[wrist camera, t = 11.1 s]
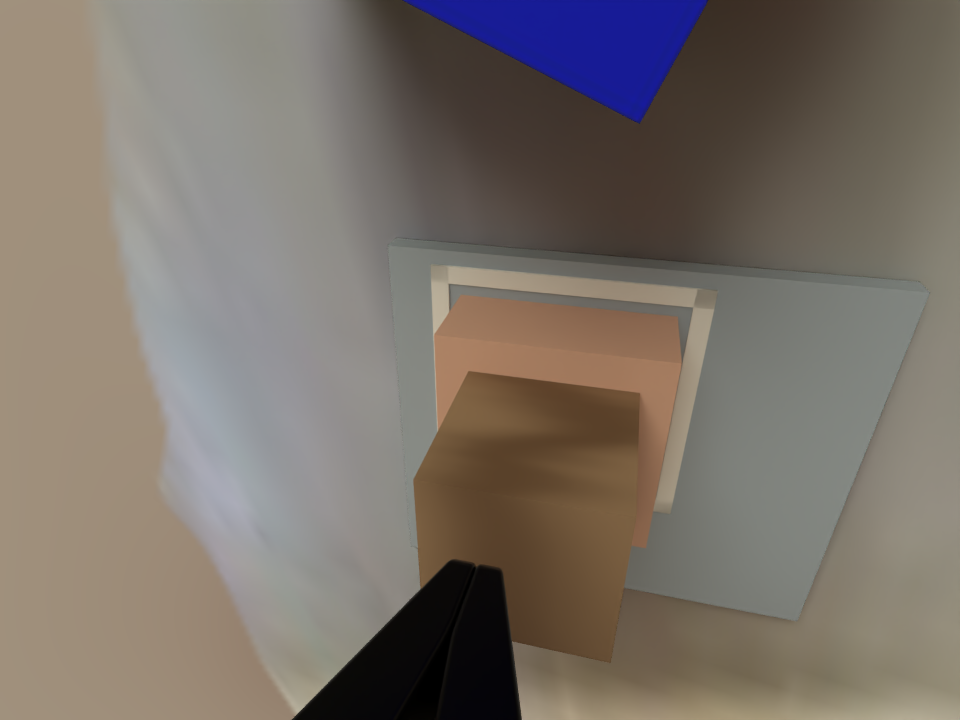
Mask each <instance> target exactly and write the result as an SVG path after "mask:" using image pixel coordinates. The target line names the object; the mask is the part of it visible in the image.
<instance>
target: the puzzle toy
mask: <svg viewBox="0 0 960 720" xmlns="http://www.w3.org/2000/svg"><path fill="white" fill-rule="evenodd" d="M403 1H405V2H407V3H409V4H410V5H412V6H414V7H416V8H418V9H420V10H422V11H424V12H426V13H428V14H430V15H432V16H433V17H435V18H437V19H439V20H441V21H443V22H445V23H447V24H449V25H451V26H453V27H455V28H456V29H458V30H460V31H462V32H464V33H466V34H468V35H470V36H472V37H474V38H476V39H478V40H480V41H481V42H483V43H485V44H487V45H489V46H491V47H493V48H495V49H497V50H499V51H501V52H503V53H504V54H506V55H508V56H510V57H512V58H514V59H516V60H518V61H520V62H522V63H524V64H526V65H527V66H529V67H531V68H533V69H535V70H537V71H539V72H541V73H543V74H545V75H547V76H549V77H551V78H552V79H554V80H556V81H558V82H560V83H562V84H564V85H566V86H568V87H570V88H572V89H574V90H575V91H577V92H579V93H581V94H583V95H585V96H587V97H589V98H591V99H593V100H595V101H597V102H598V103H600V104H602V105H604V106H606V107H608V108H610V109H612V110H614V111H616V112H618V113H620V114H621V115H623V116H625V117H627V118H629V119H631V120H633V121H635V122H637V123H639V124H640V122H641V121H642V119H643V117H644V115H645V113H646V112H647V110H648V108H649V106H650V104H651V103H652V101H653V99H654V97H655V95H656V94H657V92H658V90H659V88H660V86H661V85H662V83H663V81H664V79H665V77H666V76H667V74H668V72H669V70H670V68H671V67H672V65H673V63H674V61H675V60H676V58H677V56H678V54H679V52H680V51H681V49H682V47H683V45H684V43H685V42H686V40H687V38H688V36H689V34H690V33H691V31H692V29H693V27H694V25H695V24H696V22H697V20H698V18H699V16H700V15H701V13H702V11H703V9H704V7H705V6H706V4H707V2H708V0H403Z"/></svg>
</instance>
